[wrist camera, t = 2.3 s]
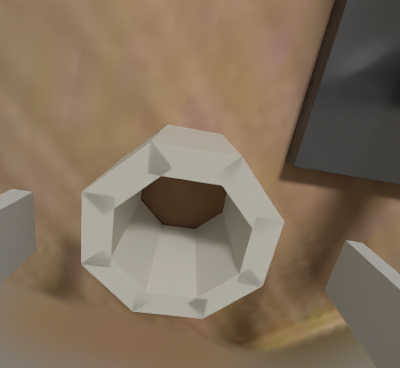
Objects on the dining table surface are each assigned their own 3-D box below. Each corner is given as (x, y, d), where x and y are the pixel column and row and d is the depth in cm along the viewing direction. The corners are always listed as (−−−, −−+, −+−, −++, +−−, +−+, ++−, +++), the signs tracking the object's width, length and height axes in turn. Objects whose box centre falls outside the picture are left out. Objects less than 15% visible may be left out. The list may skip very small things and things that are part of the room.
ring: (119, 234, 16) (80, 306, 10) (128, 117, 13) (82, 129, 8) (230, 248, 17) (250, 323, 11) (258, 140, 14) (303, 167, 9)
